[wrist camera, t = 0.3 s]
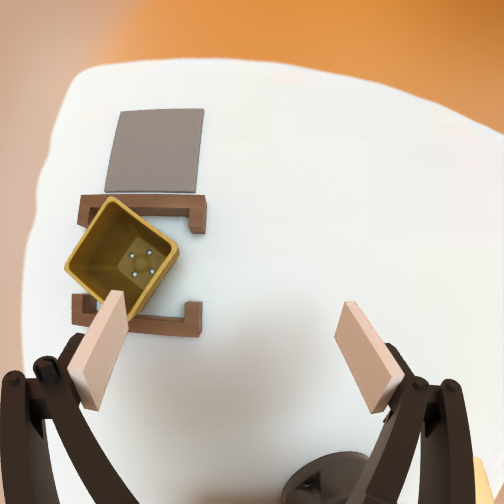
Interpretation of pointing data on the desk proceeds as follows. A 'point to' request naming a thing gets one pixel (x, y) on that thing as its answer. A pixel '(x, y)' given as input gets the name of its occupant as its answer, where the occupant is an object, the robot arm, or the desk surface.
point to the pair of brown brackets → (147, 206)
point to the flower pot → (121, 256)
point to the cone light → (482, 484)
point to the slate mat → (155, 151)
